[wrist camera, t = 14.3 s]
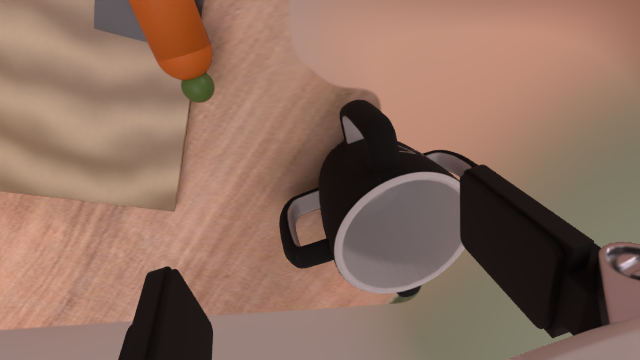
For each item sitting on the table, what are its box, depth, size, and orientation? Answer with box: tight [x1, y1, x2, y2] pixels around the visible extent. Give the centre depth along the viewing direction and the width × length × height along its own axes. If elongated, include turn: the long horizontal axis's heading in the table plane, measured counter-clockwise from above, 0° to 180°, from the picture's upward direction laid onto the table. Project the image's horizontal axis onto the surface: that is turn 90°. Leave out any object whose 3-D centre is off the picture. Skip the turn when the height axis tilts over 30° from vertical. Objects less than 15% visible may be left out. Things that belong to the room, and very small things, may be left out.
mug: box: [279, 100, 479, 297], centre depth 33 cm, size 16×16×12 cm
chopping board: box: [0, 0, 205, 211], centre depth 26 cm, size 22×20×2 cm
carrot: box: [128, 0, 214, 103], centre depth 23 cm, size 14×4×4 cm, turn 13°
